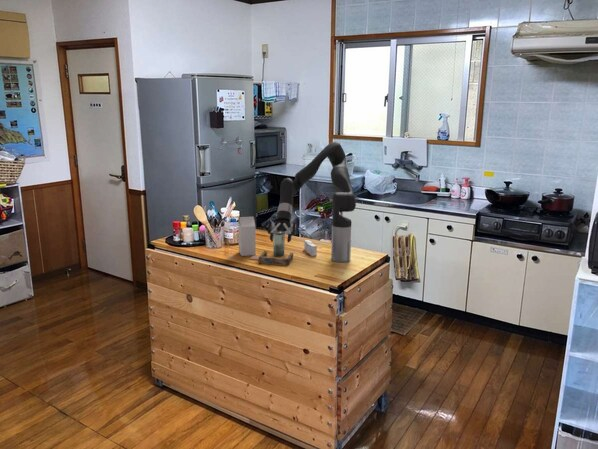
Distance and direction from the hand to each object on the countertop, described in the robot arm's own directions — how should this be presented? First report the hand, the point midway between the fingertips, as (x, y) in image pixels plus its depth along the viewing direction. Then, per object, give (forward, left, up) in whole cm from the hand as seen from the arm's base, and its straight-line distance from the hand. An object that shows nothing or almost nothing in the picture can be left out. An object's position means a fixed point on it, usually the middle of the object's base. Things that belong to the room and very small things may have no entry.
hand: (279, 241), depth 247 cm
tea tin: (0, +1, -7) cm, 7 cm away
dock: (-1, +11, -7) cm, 13 cm away
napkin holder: (-15, -8, -8) cm, 18 cm away
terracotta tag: (+10, +9, -7) cm, 15 cm away
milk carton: (+16, +3, -7) cm, 18 cm away
